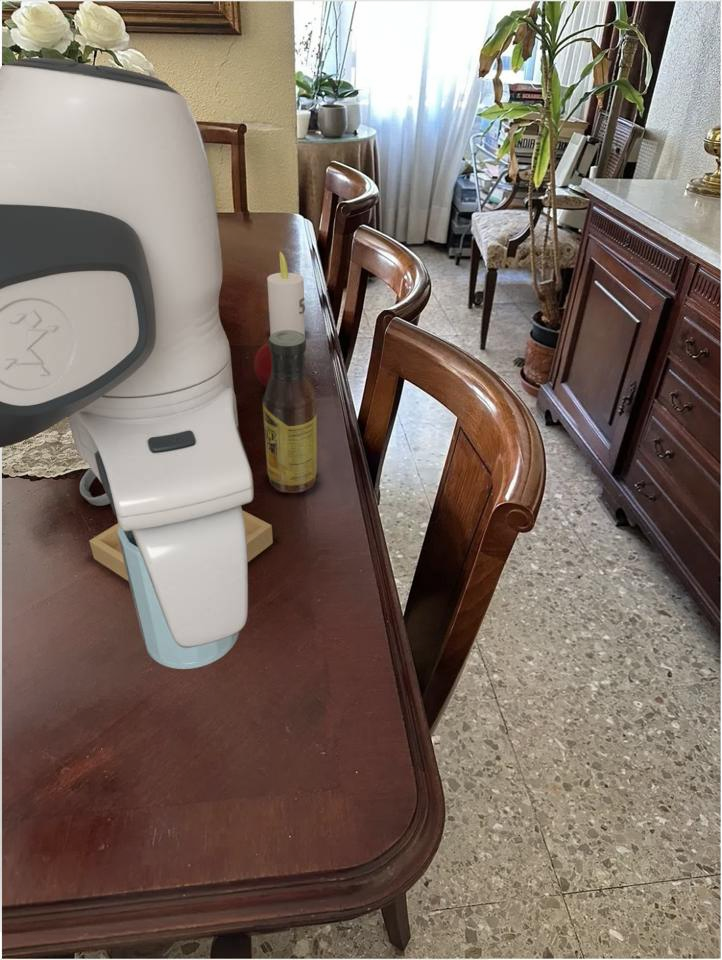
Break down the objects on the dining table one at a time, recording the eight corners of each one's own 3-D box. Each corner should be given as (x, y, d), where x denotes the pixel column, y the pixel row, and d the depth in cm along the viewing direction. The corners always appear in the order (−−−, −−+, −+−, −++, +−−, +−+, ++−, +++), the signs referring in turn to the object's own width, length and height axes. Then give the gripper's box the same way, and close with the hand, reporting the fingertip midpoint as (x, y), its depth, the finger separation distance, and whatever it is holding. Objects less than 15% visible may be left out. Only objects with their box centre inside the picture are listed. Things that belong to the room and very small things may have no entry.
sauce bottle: (267, 469, 86) (257, 323, 74) (316, 467, 87) (313, 322, 75) (268, 499, 81) (257, 348, 69) (319, 496, 81) (316, 346, 70)
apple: (255, 402, 100) (251, 354, 96) (255, 378, 107) (252, 331, 102) (305, 400, 101) (304, 352, 97) (302, 376, 108) (301, 330, 103)
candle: (294, 344, 118) (291, 260, 109) (263, 337, 120) (258, 254, 112) (312, 332, 123) (310, 250, 114) (281, 325, 125) (278, 244, 116)
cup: (189, 685, 43) (167, 572, 37) (124, 638, 46) (95, 527, 40) (259, 625, 47) (249, 515, 42) (195, 585, 51) (178, 478, 45)
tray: (180, 615, 65) (176, 596, 63) (93, 558, 71) (88, 540, 70) (273, 543, 74) (271, 525, 73) (189, 498, 80) (186, 481, 79)
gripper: (76, 344, 43) (115, 512, 51) (120, 528, 28) (166, 726, 36) (174, 330, 45) (197, 493, 53) (264, 494, 30) (277, 688, 38)
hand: (185, 589), depth 44 cm, fingers closed on cup, 7 cm apart
